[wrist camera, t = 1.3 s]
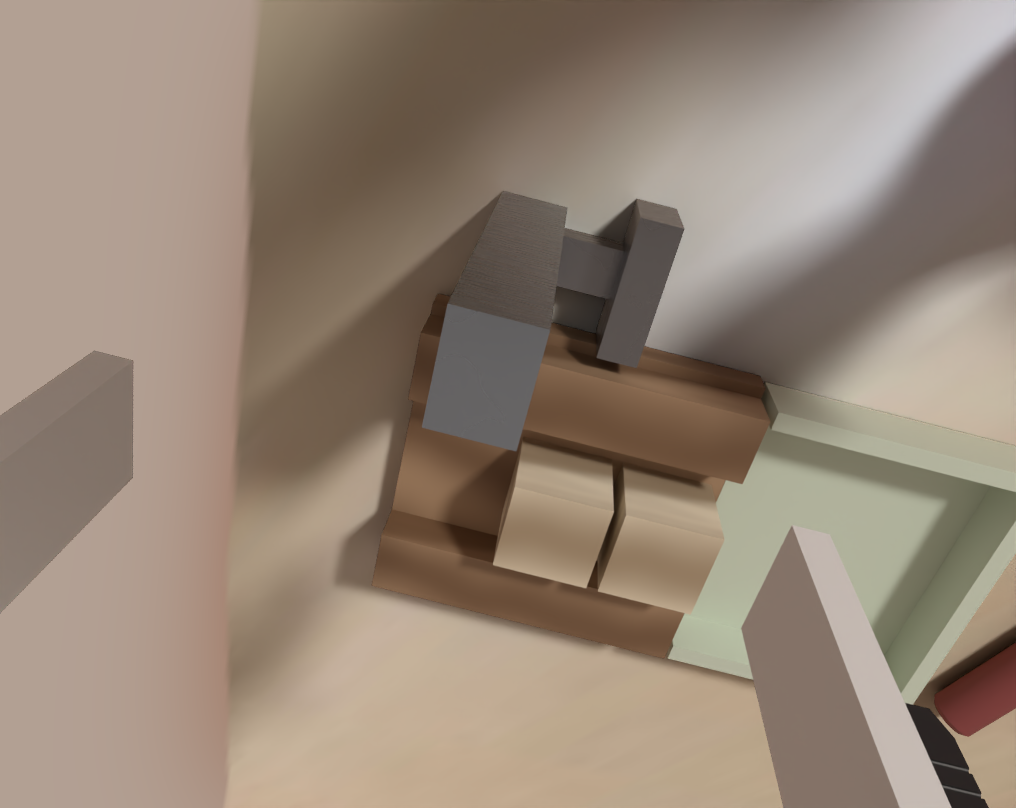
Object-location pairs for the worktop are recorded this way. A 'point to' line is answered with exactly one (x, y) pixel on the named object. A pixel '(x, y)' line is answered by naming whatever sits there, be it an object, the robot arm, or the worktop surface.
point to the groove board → (575, 425)
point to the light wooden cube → (659, 539)
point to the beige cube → (555, 513)
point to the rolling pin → (980, 694)
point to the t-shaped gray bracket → (540, 309)
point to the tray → (863, 529)
